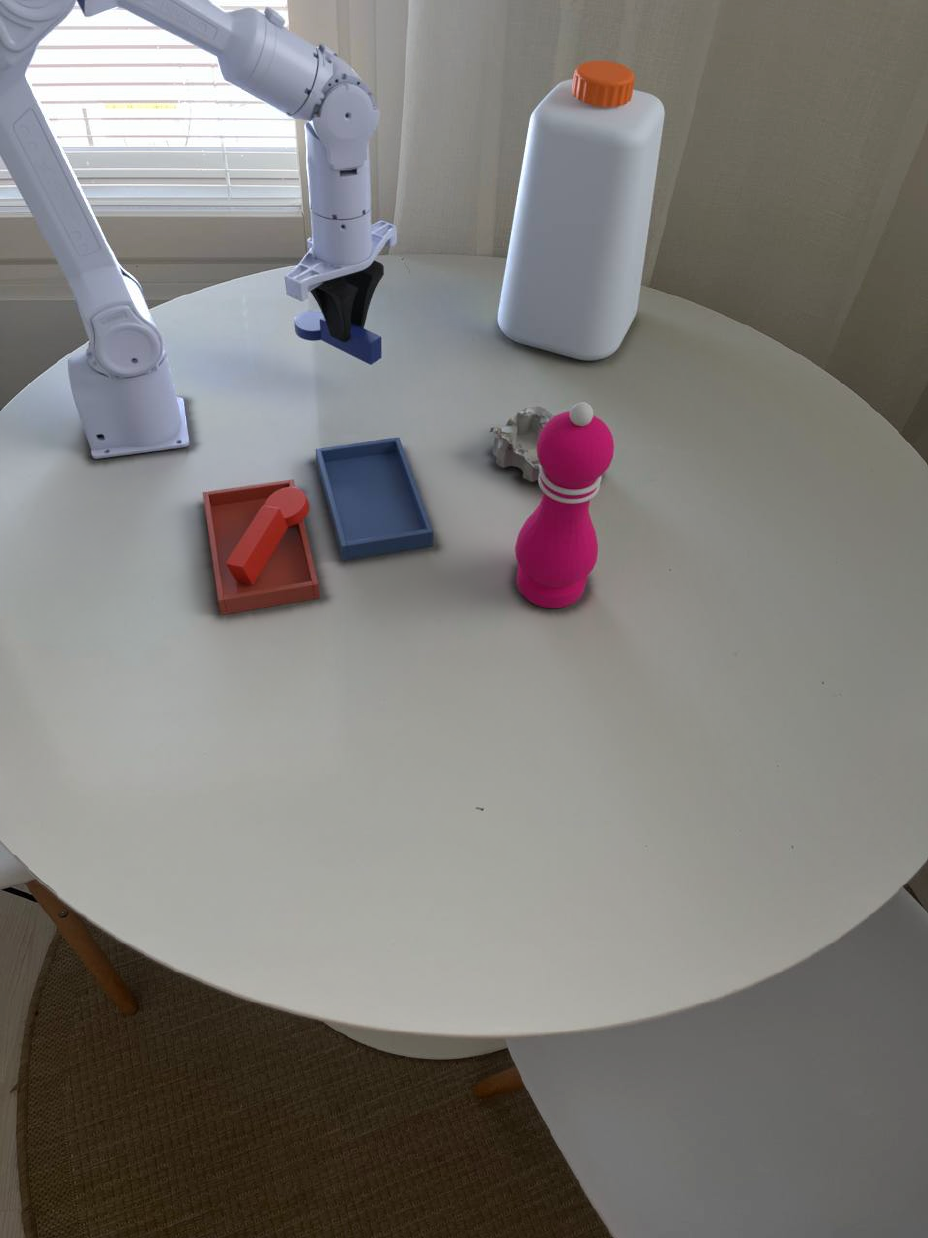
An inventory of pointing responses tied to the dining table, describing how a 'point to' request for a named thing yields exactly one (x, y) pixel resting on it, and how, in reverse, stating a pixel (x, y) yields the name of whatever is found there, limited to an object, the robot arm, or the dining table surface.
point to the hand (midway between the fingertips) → (347, 332)
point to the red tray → (287, 566)
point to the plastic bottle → (582, 214)
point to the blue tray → (373, 499)
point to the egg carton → (521, 441)
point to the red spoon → (267, 533)
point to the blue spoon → (358, 345)
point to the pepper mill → (564, 509)
